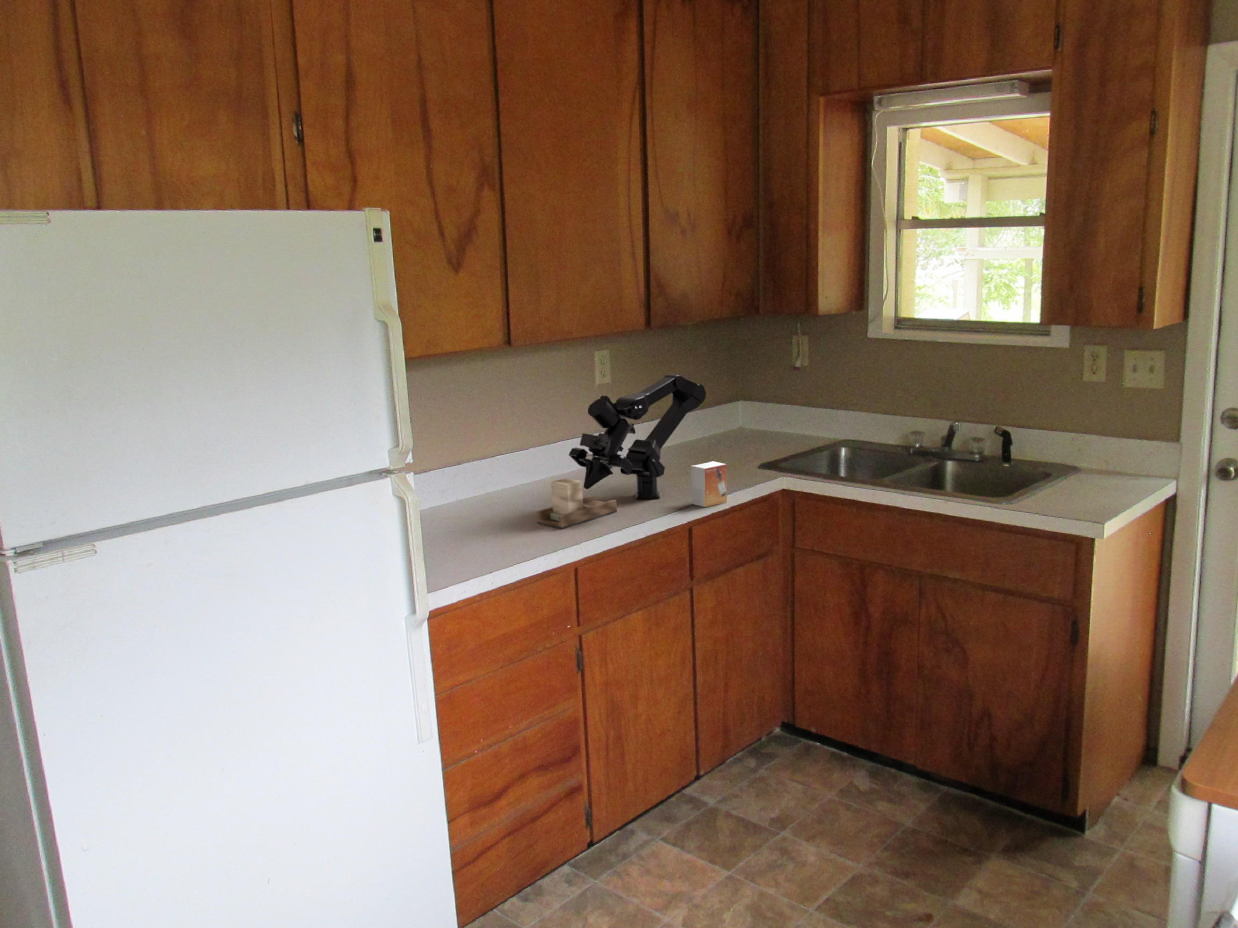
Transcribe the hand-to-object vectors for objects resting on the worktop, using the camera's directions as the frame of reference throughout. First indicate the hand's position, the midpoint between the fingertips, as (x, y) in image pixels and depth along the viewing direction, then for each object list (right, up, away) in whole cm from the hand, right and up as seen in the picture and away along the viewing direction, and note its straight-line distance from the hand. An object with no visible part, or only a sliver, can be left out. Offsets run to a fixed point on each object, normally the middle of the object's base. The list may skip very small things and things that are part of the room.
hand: (585, 488), depth 267 cm
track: (-2, -8, -1) cm, 8 cm away
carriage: (-4, -6, -4) cm, 8 cm away
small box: (+33, -4, +8) cm, 34 cm away
